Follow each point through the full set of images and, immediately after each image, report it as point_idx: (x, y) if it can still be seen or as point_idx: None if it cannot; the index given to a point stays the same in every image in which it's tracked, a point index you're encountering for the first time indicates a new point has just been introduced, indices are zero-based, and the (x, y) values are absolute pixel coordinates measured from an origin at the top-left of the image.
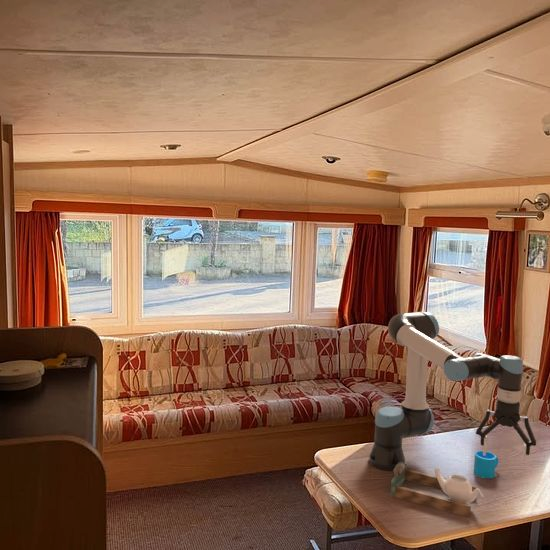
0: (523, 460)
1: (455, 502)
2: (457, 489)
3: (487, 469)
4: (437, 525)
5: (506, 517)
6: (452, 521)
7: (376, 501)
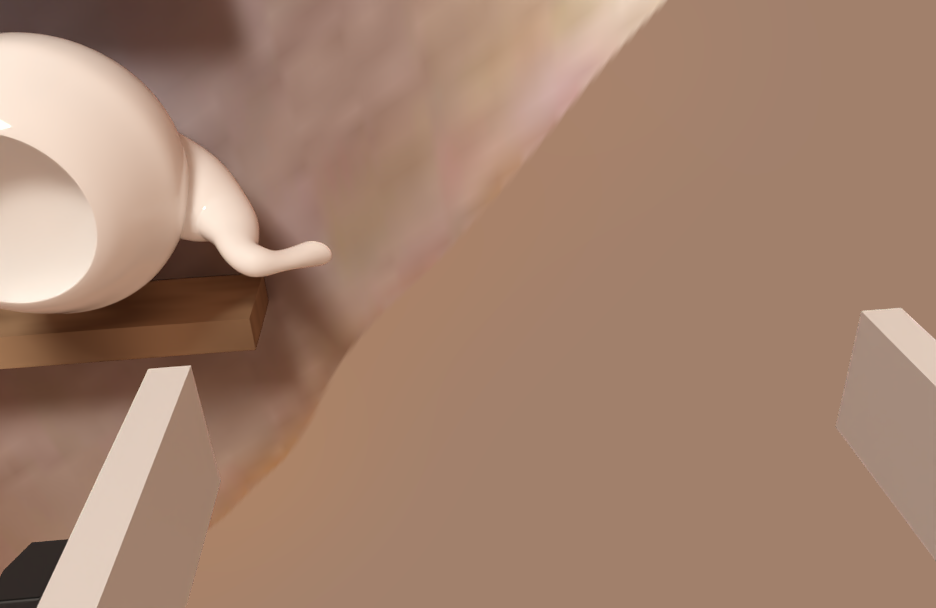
0: (880, 469)
1: (130, 354)
2: (74, 311)
3: None
4: None
5: (519, 138)
6: None
7: None
